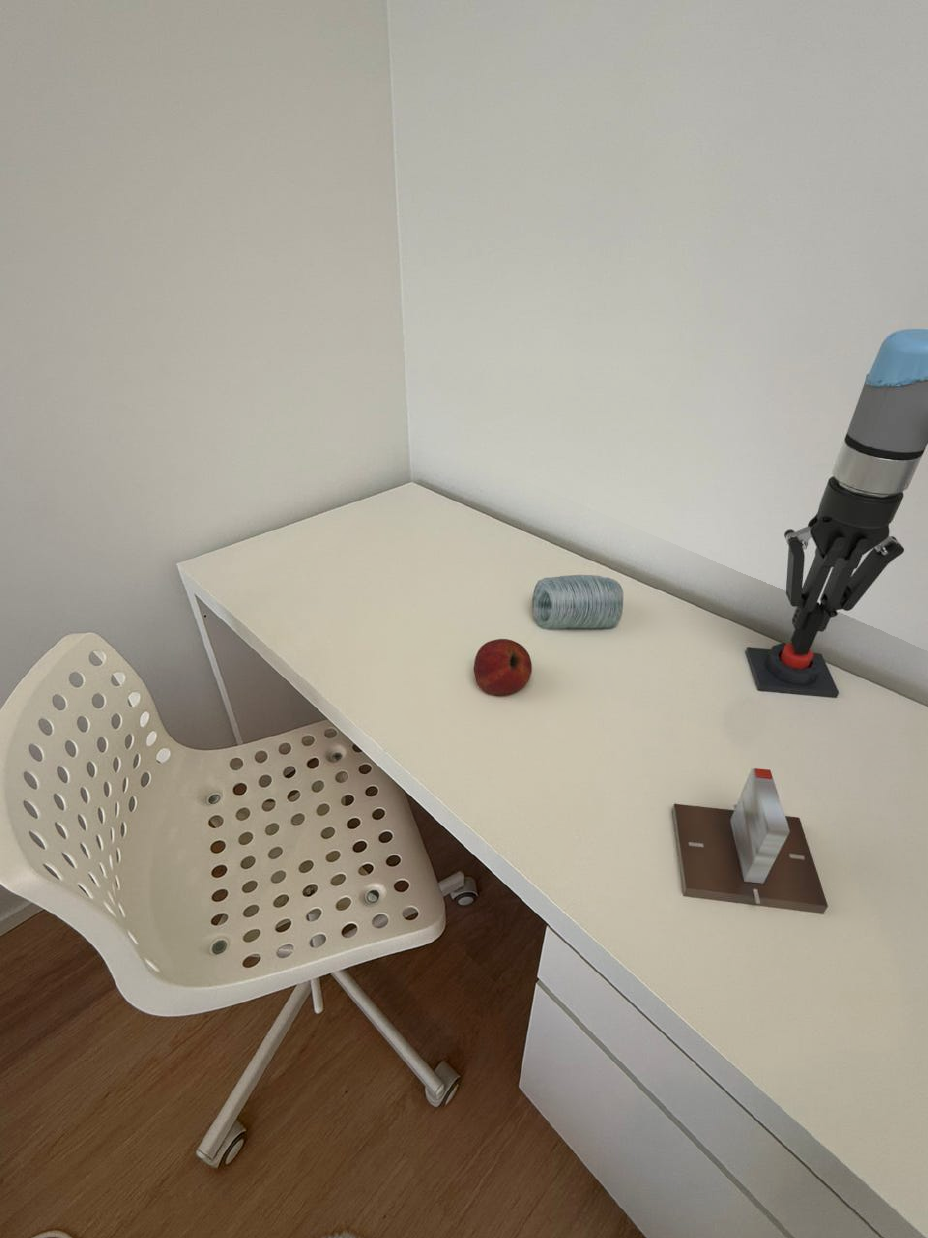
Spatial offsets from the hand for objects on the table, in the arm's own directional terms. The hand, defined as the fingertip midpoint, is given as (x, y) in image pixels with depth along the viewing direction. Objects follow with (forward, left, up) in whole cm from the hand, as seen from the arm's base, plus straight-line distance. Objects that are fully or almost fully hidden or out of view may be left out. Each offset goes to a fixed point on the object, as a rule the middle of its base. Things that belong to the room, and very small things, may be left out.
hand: (799, 647), depth 86 cm
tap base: (+12, +30, -6) cm, 33 cm away
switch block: (0, 0, -6) cm, 6 cm away
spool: (+29, -9, -6) cm, 31 cm away
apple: (+39, +7, -6) cm, 40 cm away
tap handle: (+12, +30, -3) cm, 32 cm away
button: (0, 0, -2) cm, 2 cm away
